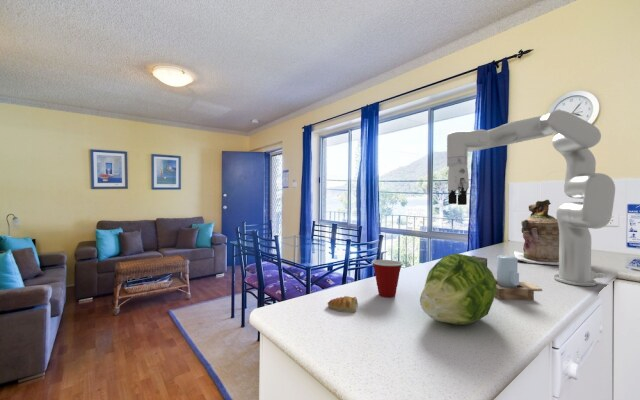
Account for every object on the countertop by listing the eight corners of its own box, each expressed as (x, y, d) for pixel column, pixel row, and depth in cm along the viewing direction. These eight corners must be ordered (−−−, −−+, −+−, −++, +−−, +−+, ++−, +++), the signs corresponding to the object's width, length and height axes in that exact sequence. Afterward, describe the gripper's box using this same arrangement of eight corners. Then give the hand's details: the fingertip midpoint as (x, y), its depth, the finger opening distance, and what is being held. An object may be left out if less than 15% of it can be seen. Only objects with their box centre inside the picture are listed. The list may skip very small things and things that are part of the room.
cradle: (514, 288, 106) (514, 279, 105) (533, 300, 95) (533, 289, 95) (483, 288, 107) (483, 279, 106) (498, 299, 96) (498, 288, 96)
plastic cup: (405, 291, 104) (405, 259, 104) (400, 302, 94) (400, 266, 94) (375, 287, 109) (375, 256, 108) (368, 297, 99) (367, 262, 98)
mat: (528, 283, 112) (528, 281, 112) (542, 290, 104) (542, 288, 104) (506, 283, 112) (506, 281, 112) (518, 289, 104) (518, 288, 104)
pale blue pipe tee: (509, 290, 104) (509, 254, 104) (526, 300, 94) (526, 261, 94) (492, 289, 105) (492, 254, 105) (507, 299, 95) (507, 261, 95)
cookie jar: (568, 258, 153) (569, 198, 152) (579, 268, 132) (580, 199, 131) (513, 253, 166) (513, 198, 165) (515, 262, 145) (515, 199, 145)
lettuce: (399, 314, 85) (400, 260, 80) (449, 288, 96) (452, 238, 91) (456, 356, 70) (461, 291, 65) (508, 319, 81) (516, 261, 76)
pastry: (326, 311, 88) (326, 299, 88) (329, 303, 94) (329, 292, 94) (356, 314, 86) (356, 301, 86) (358, 305, 92) (358, 293, 92)
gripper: (476, 159, 107) (476, 205, 108) (458, 164, 125) (458, 203, 125) (456, 160, 108) (456, 205, 108) (440, 164, 125) (440, 203, 126)
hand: (457, 204), depth 117 cm, fingers open, 9 cm apart
